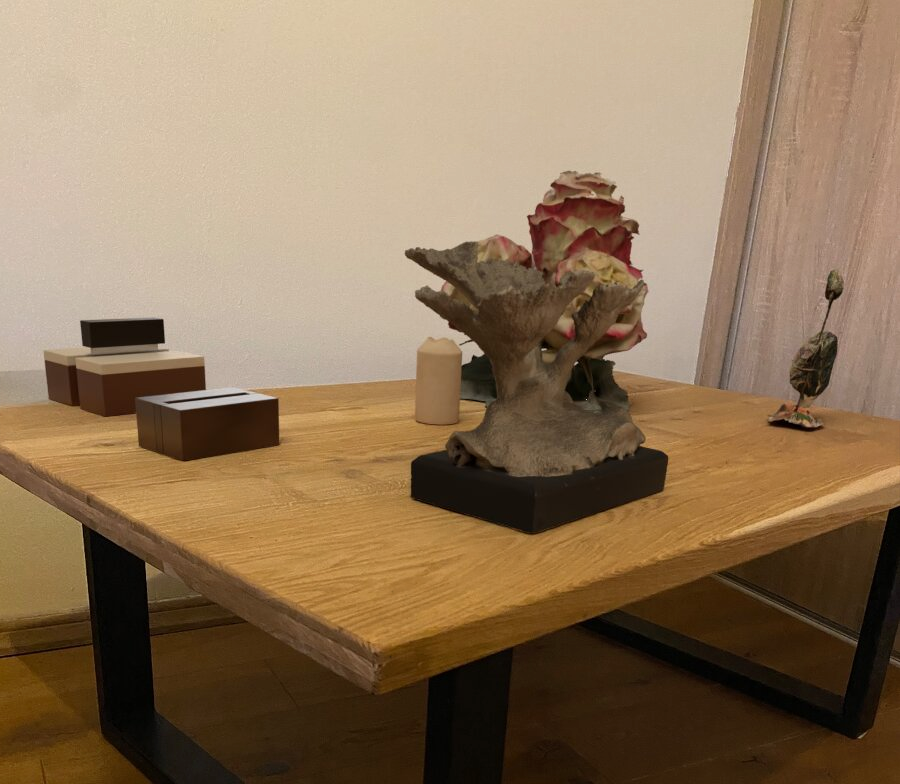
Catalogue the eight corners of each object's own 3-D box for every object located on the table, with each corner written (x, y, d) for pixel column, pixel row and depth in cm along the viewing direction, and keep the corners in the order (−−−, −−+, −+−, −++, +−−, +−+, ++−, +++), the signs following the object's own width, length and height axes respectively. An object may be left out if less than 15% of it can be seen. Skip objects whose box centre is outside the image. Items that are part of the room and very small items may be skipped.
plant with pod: (842, 423, 127) (875, 270, 120) (808, 433, 120) (840, 269, 112) (786, 414, 132) (814, 265, 125) (750, 422, 125) (777, 265, 117)
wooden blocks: (105, 416, 108) (100, 364, 106) (48, 399, 116) (42, 350, 114) (206, 404, 118) (204, 356, 116) (147, 388, 126) (144, 343, 124)
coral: (503, 545, 72) (525, 249, 64) (333, 488, 84) (333, 235, 76) (671, 492, 89) (705, 254, 81) (508, 451, 101) (524, 242, 93)
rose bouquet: (414, 394, 132) (422, 162, 121) (564, 383, 149) (583, 178, 138) (532, 429, 114) (555, 159, 102) (688, 412, 130) (723, 178, 119)
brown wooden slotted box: (183, 461, 91) (180, 410, 89) (138, 446, 96) (134, 397, 94) (279, 445, 99) (278, 398, 97) (234, 432, 104) (232, 387, 102)
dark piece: (97, 407, 113) (89, 322, 109) (88, 404, 114) (79, 320, 111) (169, 399, 120) (163, 319, 116) (159, 396, 121) (154, 317, 118)
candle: (407, 421, 114) (410, 337, 110) (425, 414, 119) (428, 334, 115) (448, 427, 112) (452, 342, 109) (465, 419, 117) (469, 338, 113)
